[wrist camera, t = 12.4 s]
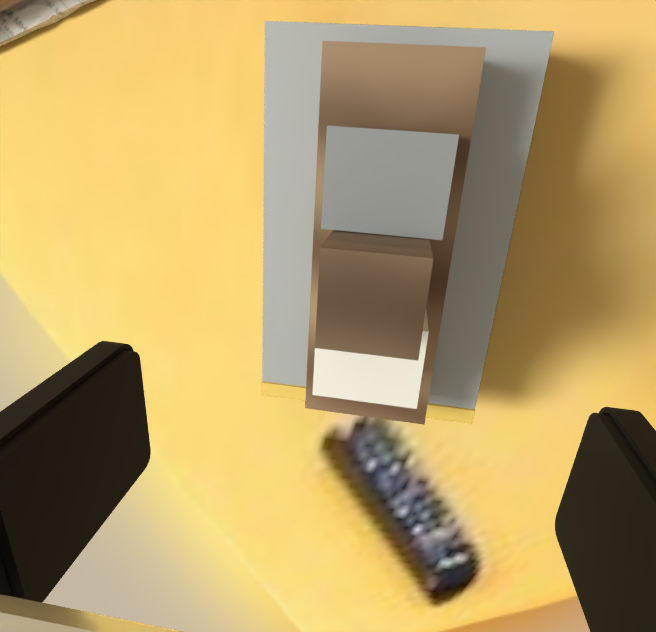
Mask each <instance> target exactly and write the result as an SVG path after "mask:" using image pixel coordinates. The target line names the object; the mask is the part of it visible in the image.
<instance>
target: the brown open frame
mask: <svg viewBox="0 0 656 632" xmlns="http://www.w3.org/2000/svg"><path fill="white" fill-rule="evenodd" d="M485 51H486V47H464V46H440V45H416V44H391V43H367V42H342V41H322V61H321V82H320V103H319V124H318V146H317V167H316V188H315V209H314V230H313V251H312V273H311V294H310V315H309V336H308V357H307V378H306V399H305V408H309V409H316V410H323V411H330V412H338V413H345V414H352V415H359V416H366V417H374V418H381V419H388V420H395V421H403V422H410V423H417V424H424V423H425V417H426V411H427V405H428V399H429V393H430V387H431V381H432V375H433V368H434V362H435V356H436V350H437V344H438V338H439V332H440V326H441V320H442V313H443V307H444V301H445V295H446V289H447V283H448V277H449V271H450V265H451V259H452V252H453V246H454V240H455V234H456V228H457V222H458V216H459V210H460V204H461V198H462V191H463V185H464V179H465V173H466V167H467V161H468V155H469V149H470V143H471V136H472V130H473V124H474V118H475V112H476V106H477V100H478V94H479V88H480V82H481V75H482V69H483V63H484V57H485ZM327 126H341V127H356V128H370V129H385V130H399V131H414V132H429V133H443V134H458V135H459V139H458V145H457V151H456V158H455V164H454V170H453V177H452V183H451V189H450V196H449V202H448V208H447V214H446V221H445V227H444V233H443V240H434V239H423V238H413V237H402V236H392V235H381V234H371V233H360V232H350V231H339V230H329V229H321V220H322V203H323V185H324V168H325V151H326V133H327ZM425 312H427V321H428V329H429V333H428V340H427V346H426V352H425V359H424V365H423V372H422V378H421V385H420V391H419V398H418V404H417V409H413V408H406V407H398V406H391V405H384V404H376V403H369V402H361V401H354V400H347V399H339V398H332V397H325V396H317V395H312V393H313V374H314V356H315V348H319V349H327V350H335V351H343V352H351V353H360V354H368V355H376V356H384V357H392V358H401V359H409V360H417V361H418V359H419V352H420V346H421V339H422V332H423V326H424V319H425Z"/></svg>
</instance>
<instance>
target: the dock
mask: <svg viewBox="0 0 656 632" xmlns="http://www.w3.org/2000/svg"><path fill="white" fill-rule="evenodd" d="M553 35H554V31H527V30H500V29H472V28H445V27H417V26H390V25H363V24H335V23H308V22H281V21H265V87H264V236H263V381H262V395H263V396H270V397H277V398H285V399H292V400H299V401H305V399H306V378H307V357H308V336H309V315H310V294H311V273H312V251H313V230H314V209H315V188H316V167H317V146H318V124H319V103H320V82H321V61H322V41H342V42H367V43H391V44H416V45H440V46H464V47H486V51H485V57H484V63H483V69H482V75H481V82H480V88H479V94H478V100H477V106H476V112H475V118H474V124H473V130H472V136H471V143H470V149H469V155H468V161H467V167H466V173H465V179H464V185H463V191H462V198H461V204H460V210H459V216H458V222H457V228H456V234H455V240H454V246H453V252H452V259H451V265H450V271H449V277H448V283H447V289H446V295H445V301H444V307H443V313H442V320H441V326H440V332H439V338H438V344H437V350H436V356H435V362H434V368H433V375H432V381H431V387H430V393H429V399H428V405H427V411H426V417H425V418H431V419H438V420H445V421H453V422H460V423H467V424H473V419H474V415H475V406H476V401H477V397H478V392H479V387H480V382H481V378H482V373H483V368H484V363H485V358H486V354H487V349H488V344H489V339H490V335H491V330H492V325H493V320H494V316H495V311H496V306H497V301H498V297H499V292H500V287H501V282H502V278H503V273H504V268H505V263H506V259H507V254H508V249H509V244H510V240H511V235H512V230H513V225H514V220H515V216H516V211H517V206H518V201H519V197H520V192H521V187H522V182H523V178H524V173H525V168H526V163H527V159H528V154H529V149H530V144H531V140H532V135H533V130H534V125H535V121H536V116H537V111H538V106H539V102H540V97H541V92H542V87H543V82H544V78H545V73H546V68H547V63H548V59H549V54H550V49H551V44H552V40H553Z"/></svg>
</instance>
